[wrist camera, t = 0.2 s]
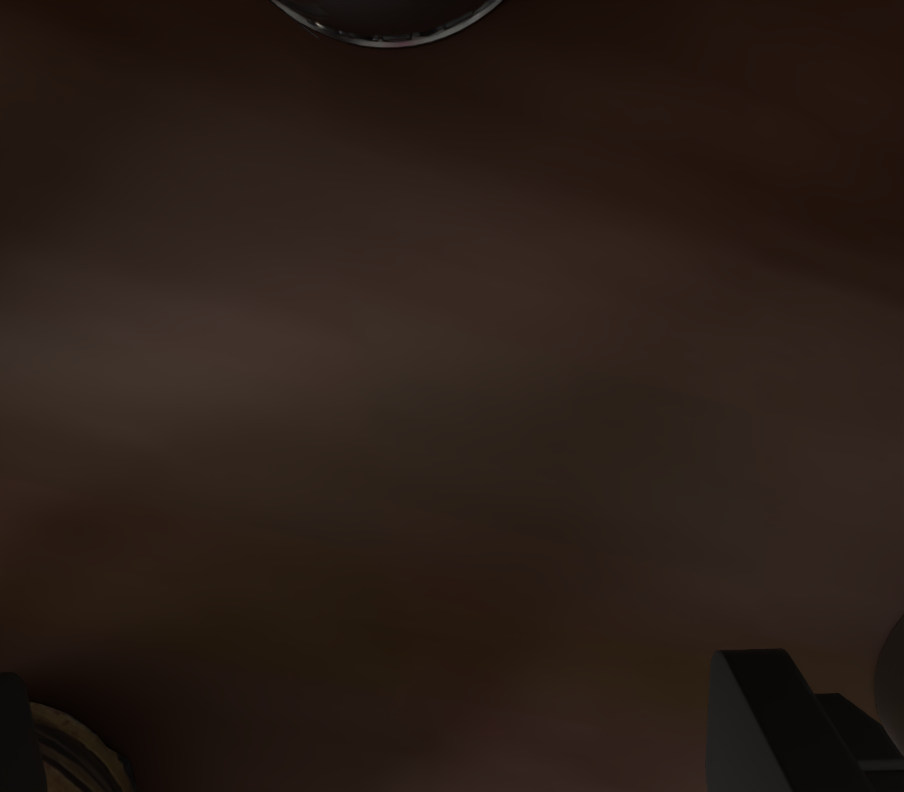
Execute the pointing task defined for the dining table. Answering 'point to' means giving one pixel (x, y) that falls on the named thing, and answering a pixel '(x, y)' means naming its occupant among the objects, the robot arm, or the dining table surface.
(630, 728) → the dining table surface
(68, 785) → the ceramic jug
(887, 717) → the grey metal canister
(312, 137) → the dining table surface
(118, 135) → the dining table surface
